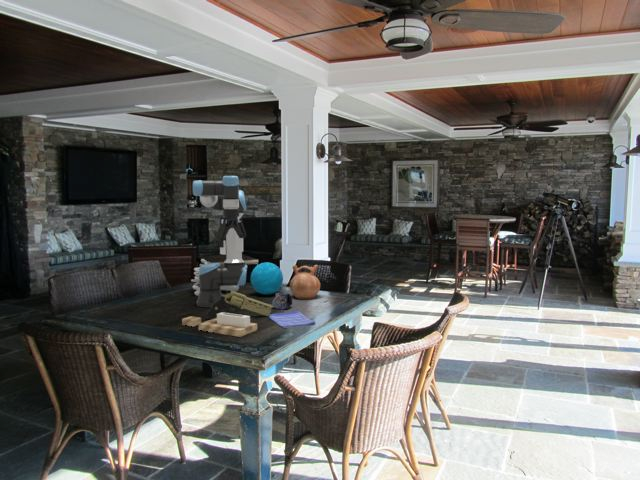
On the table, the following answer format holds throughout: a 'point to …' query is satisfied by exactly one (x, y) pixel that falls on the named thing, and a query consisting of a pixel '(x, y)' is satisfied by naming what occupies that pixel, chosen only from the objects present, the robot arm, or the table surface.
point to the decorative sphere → (266, 278)
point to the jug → (304, 283)
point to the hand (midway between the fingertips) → (232, 252)
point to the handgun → (238, 304)
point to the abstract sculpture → (229, 288)
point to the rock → (282, 301)
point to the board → (226, 328)
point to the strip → (233, 319)
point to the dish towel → (291, 319)
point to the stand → (191, 321)
